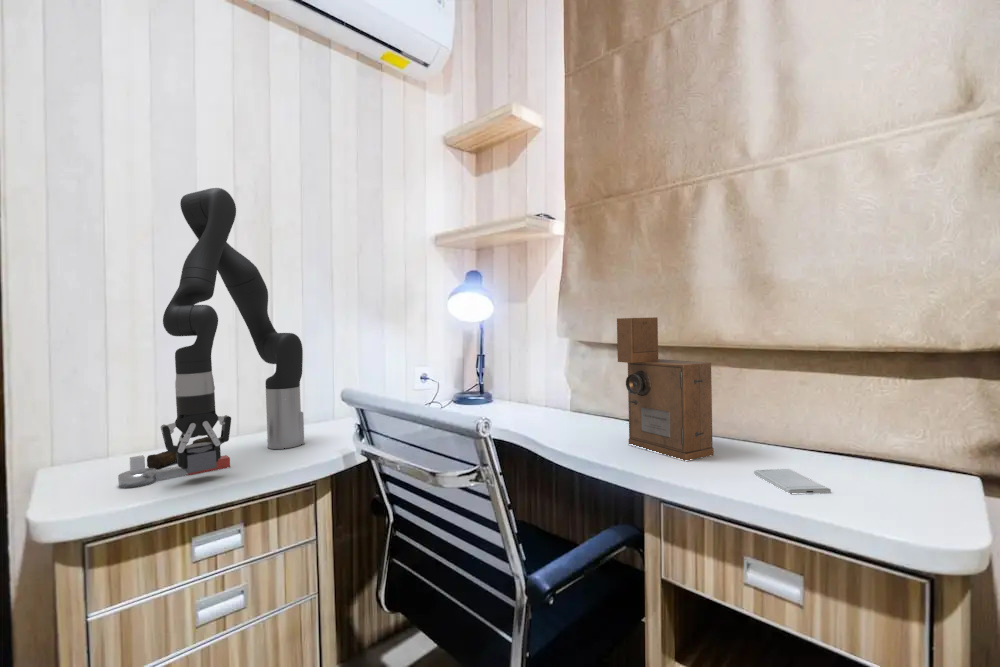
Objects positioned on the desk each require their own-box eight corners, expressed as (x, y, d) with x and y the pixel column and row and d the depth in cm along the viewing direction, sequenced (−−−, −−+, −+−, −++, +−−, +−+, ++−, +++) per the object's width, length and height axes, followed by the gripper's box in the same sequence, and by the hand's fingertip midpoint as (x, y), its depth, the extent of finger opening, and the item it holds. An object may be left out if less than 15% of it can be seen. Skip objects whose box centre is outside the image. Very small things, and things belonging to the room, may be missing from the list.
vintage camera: (617, 447, 132) (615, 318, 131) (655, 440, 139) (652, 317, 138) (674, 464, 115) (671, 316, 115) (713, 455, 122) (711, 315, 121)
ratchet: (224, 463, 126) (224, 440, 126) (232, 468, 121) (231, 444, 121) (117, 483, 111) (116, 457, 111) (120, 490, 106) (119, 463, 106)
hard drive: (753, 469, 106) (789, 488, 94) (790, 468, 106) (830, 487, 94) (754, 477, 106) (789, 497, 94) (790, 476, 106) (831, 495, 94)
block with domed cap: (210, 462, 116) (209, 441, 116) (217, 467, 112) (216, 445, 112) (182, 468, 112) (181, 446, 112) (187, 473, 108) (186, 450, 108)
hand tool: (157, 471, 121) (157, 452, 121) (145, 470, 122) (145, 451, 122) (221, 451, 139) (221, 435, 139) (210, 451, 140) (210, 435, 140)
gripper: (225, 386, 119) (229, 455, 120) (154, 394, 109) (159, 469, 110) (234, 389, 114) (238, 461, 114) (160, 398, 104) (165, 476, 104)
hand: (199, 464), depth 112 cm, fingers closed on block with domed cap, 5 cm apart
